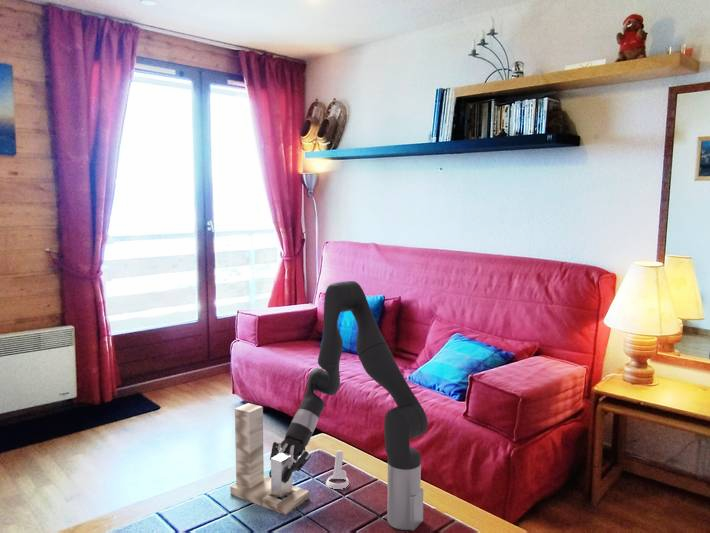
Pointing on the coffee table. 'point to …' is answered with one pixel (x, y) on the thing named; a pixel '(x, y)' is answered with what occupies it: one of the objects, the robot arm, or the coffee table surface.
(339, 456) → the white vr controller
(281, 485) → the smooth gray rectangular block
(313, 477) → the coffee table surface
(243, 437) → the beam with square loop
